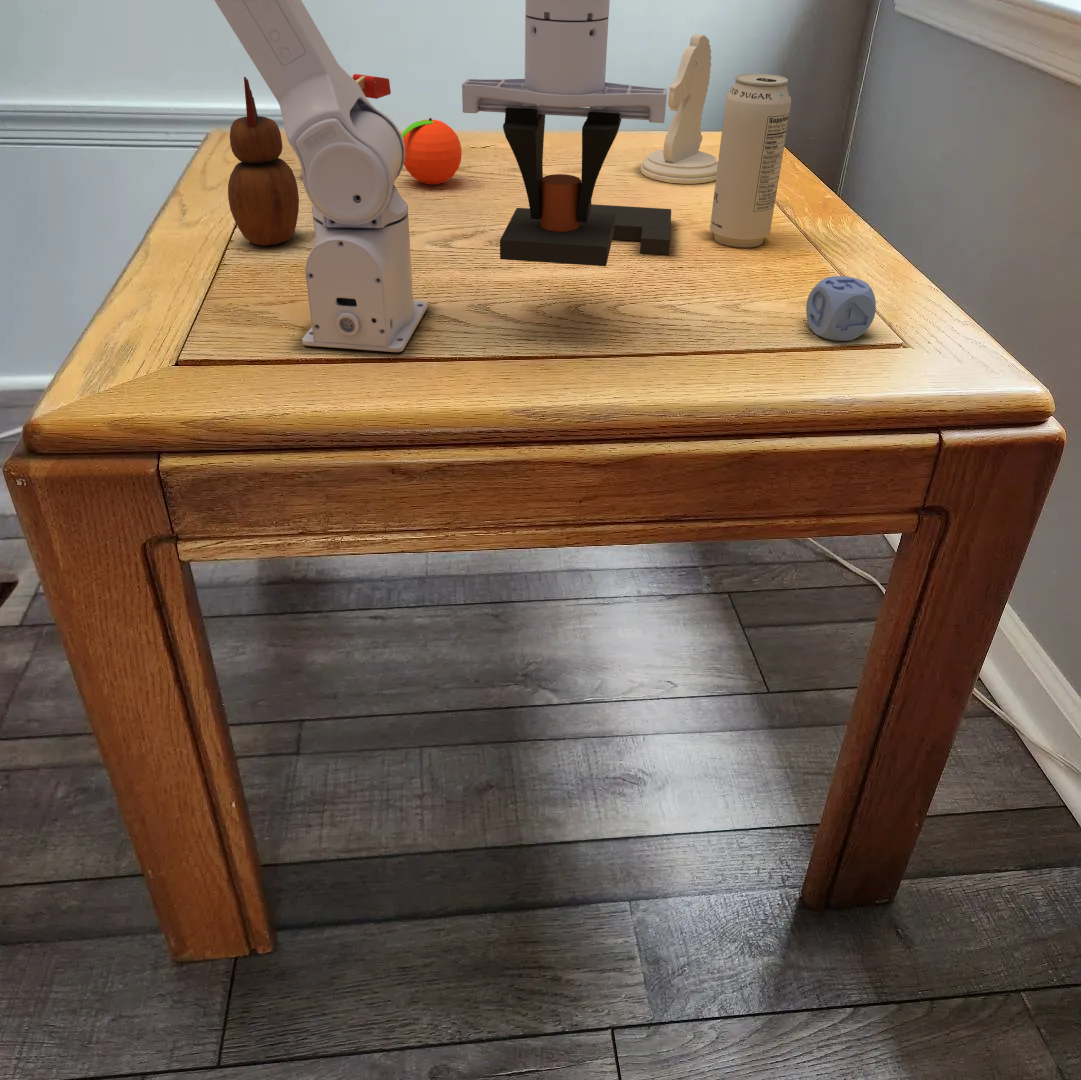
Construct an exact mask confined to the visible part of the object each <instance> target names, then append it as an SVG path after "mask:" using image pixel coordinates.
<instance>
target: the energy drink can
mask: <svg viewBox="0 0 1081 1080" xmlns="http://www.w3.org/2000/svg"><path fill="white" fill-rule="evenodd" d="M734 80H735V81H734V83H733V86H732V87H731V89H730V90H729V91H728V93H727V94H726V97H725V104H724V105H725V106H724V114H723V121H722V130H721V136H720V145H719V152H718V159H717V160H718V161H717V162H718V167H717V175H716V180H715V183H714V184H715V185H714V193H713V200H712V208H711V216H710V223H709V230H710V231H711V232H712V233H713V234H714V236H713V239H714V240H715V241H716V242H717V243H719V244H721V245H724V246H726V247H727V246H728V247H732V248H742V249H743V248H755V247H758V246H761V245H762V244H763V243H764V240H765V238H767V237H768V236H769V235H770V234H771V229H772V222H773V217H774V211H775V205H776V198H777V194H778V193H777V192H778V186H779V181H780V174H781V168H782V161H783V155H784V148H785V144H786V137H787V131H788V125H789V118H790V113H791V107H792V97H791V95H790V92H789V89H788V83H789V79H788V78H786V77H784V76H782V75H777V74H771V73H741V74H738V75H735V78H734Z"/></svg>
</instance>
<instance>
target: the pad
mask: <svg viewBox="0 0 1081 1080" xmlns="http://www.w3.org/2000/svg"><path fill="white" fill-rule="evenodd" d="M580 188H581V178H580V177H578V176H576V175H573V174H566V173H555V174H553V173H552V174H549V175H548V174H547V175H545V176H543V178H542V179H541V217H540V219H531V215H530V207H529V208H528V207H527V208H526V207H516V209H515V211H514V212H513V214H512V215H511V218H510V220H509V222H508V223H507V225H506V228H505V230H504V232H503V233H502V235H501V236H500V238H499V239H500V240H499V259H500V260H504V261H518V262H534V263H549V264H561V265H562V264H565V265H577V266H579V265H581V266H593V267H594V266H595V267H607V264H608V261H609V255H610V251H611V247H612V242H613V240H612V238H613V234H614V224H615V214H610V213H594V212H591V205H590V212H589V217H588V220H587V222H578V204H579V196H580Z"/></svg>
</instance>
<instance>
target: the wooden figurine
mask: <svg viewBox="0 0 1081 1080" xmlns="http://www.w3.org/2000/svg"><path fill="white" fill-rule="evenodd" d="M243 85H244V99H245V111H246V116H241V117H239V118H236V119H234V121H232V124H231V125H230V131H229V143H230V149H231V152H232V154H233V156H234V157H235V158H236V159H237V160H238V161H239V162H238V163H237V164H235V166H234V168H233V169H232V171H231V173H230V175H229V179H228V184H227V199H228V206H229V210H230V213H231V215H232V217H233V220H234V222H235V224H236V226H237V228H238V230H239V232H240V233H241V234H242V237H243V238H245V240H247V241H248V242H250V243H252V244H254V245H258V246H259V245H260V246H265V247H267V246H275V245H280V244H282V243H285V242H287V241H289V240H290V239H292V236H293V235H294V234H295V233H296V232H295V231H296V227H297V225H298V224H297V223H298V217H299V211H300V210H299V209H300V207H299V206H300V195H299V187H298V184H297V180H296V179H297V178H296V176H295V174H294V171H293V170H292V168H291V167H290V165H289V164H288V163H287V162H286V161H285V160H283V159H282V158H280V156H281V154H282V153H283V140H282V133H281V129H280V128H279V125H278V123H276V121H275V120H274V119H272V118H269V117H267V116H261V115H258V110H257V106H256V102H255V98H254V96H253V92H252V89H251V87H250V82H249V79H248V78H247V76H243Z"/></svg>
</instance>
